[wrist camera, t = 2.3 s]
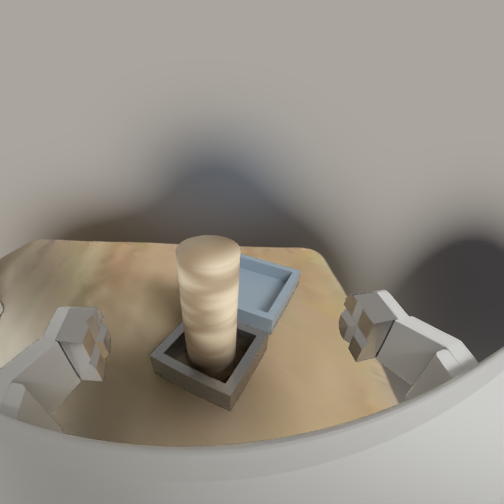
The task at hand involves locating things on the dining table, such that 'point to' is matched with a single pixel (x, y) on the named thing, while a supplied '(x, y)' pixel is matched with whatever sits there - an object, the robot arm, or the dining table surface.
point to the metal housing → (201, 383)
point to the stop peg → (209, 302)
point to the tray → (264, 292)
